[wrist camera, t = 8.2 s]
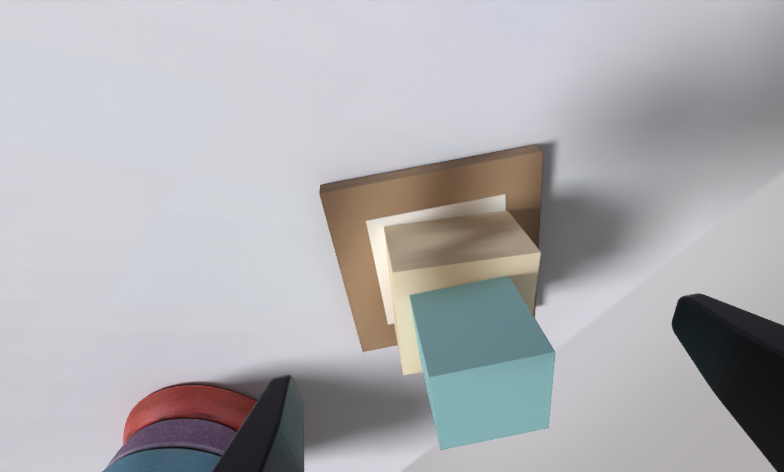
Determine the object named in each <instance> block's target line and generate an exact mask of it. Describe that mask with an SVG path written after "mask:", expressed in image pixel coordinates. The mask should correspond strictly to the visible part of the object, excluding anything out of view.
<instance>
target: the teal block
mask: <svg viewBox="0 0 784 472" xmlns="http://www.w3.org/2000/svg"><path fill="white" fill-rule="evenodd" d="M409 297H410V303H411V309H412V314H413V320H414V326H415V332H416V338H417V344H418V350H419V356H420V361H421V366H422V371H423V375H424V380H425V384H426V388H427V393H428V397H429V401H430V406H431V410H432V415H433V419H434V423H435V428H436V432H437V437H438V441H439V445H440V450H444V449H448V448H453V447H458V446H463V445H468V444H473V443H478V442H483V441H487V440H492V439H497V438H502V437H507V436H512V435H517V434H522V433H527V432H531V431H536V430H541V429H546V428H549V417H550V407H551V395H552V384H553V373H554V362H555V351H554V349H553V347H552V346H551V344H550V342H549V341H548V339H547V338H546V336H545V334H544V333H543V331H542V329H541V328H540V326H539V325H538V323H537V321H536V320H535V318H534V316H533V315H532V313H531V312H530V310H529V308H528V307H527V305H526V303H525V302H524V300H523V299H522V297H521V295H520V294H519V292H518V290H517V289H516V287H515V286H514V284H513V282H512V281H511V279H510V277H509V276H503V277H498V278H493V279H488V280H483V281H478V282H473V283H468V284H463V285H458V286H453V287H448V288H442V289H437V290H432V291H427V292H422V293H417V294H412V295H409Z"/></svg>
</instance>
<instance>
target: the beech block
mask: <svg viewBox="0 0 784 472" xmlns="http://www.w3.org/2000/svg"><path fill="white" fill-rule="evenodd" d="M384 236H385V245H386V254H387V264H388V273H389V282H390V291H391V301H392V310H393V319H394V326H395V331H396V337H397V343H398V349H399V354H400V360H401V366H402V372H403V375H408V374H415V373H421V372H423V371H422V366H421V361H420V356H419V350H418V344H417V338H416V332H415V326H414V320H413V314H412V309H411V303H410V297H409V295H412V294H417V293H422V292H427V291H432V290H437V289H442V288H448V287H453V286H458V285H463V284H468V283H473V282H478V281H483V280H488V279H493V278H498V277H503V276H509V277H510V279H511V281H512V282H513V284H514V286H515V287H516V289H517V290H518V292H519V294H520V295H521V297H522V299H523V300H524V302H525V303H526V305H527V307H528V308H529V310H530V312H531V313H532V315H533V308H534V301H535V293H536V286H537V278H538V271H539V263H540V256H541V252H540V250H539V249H538V248H537V247H536V245H535V244H534V243H533V242H532V240H531V239H530V238H529V237H528V235H527V234H526V233H525V232H524V230H523V229H522V228H521V227H520V225H519V224H518V223H517V222H516V220H515V219H514V218H513V217H512V215H511V214H510V213H509V212H508V210H507V211H500V212H492V213H484V214H477V215H469V216H461V217H454V218H446V219H438V220H430V221H423V222H415V223H407V224H400V225H392V226H384Z"/></svg>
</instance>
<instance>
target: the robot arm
mask: <svg viewBox="0 0 784 472" xmlns="http://www.w3.org/2000/svg"><path fill="white" fill-rule="evenodd" d="M672 328H673V331H674V333H675V335H676V336H677V338H678V339H679V341H680V342H681V344H682V345H683V347H684V348H685V350H686V351H687V353H688V354H689V356H690V357H691V359H692V360H693V362H694V363H695V365H696V366H697V368H698V369H699V371H700V373H701V374H702V376H703V377H704V379H705V380H706V382H707V383H708V385H709V386H710V387H711V389H712V390H713V392H714V393H715V394H716V396H717V397H718V398H719V400H720V401H721V402H722V404H723V405H724V406H725V407H726V409H727V410H728V411H729V412H730V413H731V415H732V416H733V417H734V418H735V420H736V421H737V422H738V423H739V425H740V426H741V427H742V428H743V430H744V431H745V432H746V433H747V435H748V436H749V437H750V438H751V440H752V441H753V442H754V443H755V445H756V446H757V447H758V448H759V450H760V451H761V452H762V453H763V455H764V456H765V457H766V458H767V459H768V461H769V462H770V463H771V465H772V466H773V467H774V468H775V470H776V471H777V472H784V326H783V325H781V324H778V323H775V322H773V321H771V320H768V319H765V318H763V317H760V316H758V315H755V314H752V313H750V312H747V311H745V310H742V309H739V308H737V307H735V306H732V305H729V304H727V303H724V302H722V301H719V300H716V299H714V298H711V297H709V296H706V295H703V294H692V295H687V296H683V297H681V298H680V299H679V300H678V302H677V306H676V309H675V312H674V316H673V319H672ZM211 472H304V428H303V402H302V397H301V395H300V392H299V390H298V388H297V385H296V383H295V381H294V378H293V377H292V376H291V375H284V376H279V377H275V378H273V379H272V380H271V381H270V383H269V384H268V386H267V387H266V389H265V390H264V392H263V393H262V395H261V396H260V398H259V399H258V401H257V402H256V404H255V406H254V407H253V409H252V410H251V412H250V413H249V415H248V416H247V418H246V419H245V421H244V422H243V424H242V425H241V427H240V428H239V430H238V432H237V433H236V435H235V436H234V438H233V439H232V441H231V442H230V444H229V445H228V447H227V448H226V450H225V451H224V453H223V455H222V456H221V458H220V459H219V461H218V462H217V464H216V465H215V467H214V468H213V470H212V471H211Z"/></svg>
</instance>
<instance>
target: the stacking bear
mask: <svg viewBox="0 0 784 472" xmlns="http://www.w3.org/2000/svg"><path fill="white" fill-rule="evenodd" d="M256 402H257V401H255V400H253V399H251V398H249V397H246V396H244V395H241V394H238V393H235V392H232V391H229V390H225V389H221V388H217V387H211V386H202V385H185V386H177V387H171V388H167V389H163V390H160V391H158V392H155V393H153V394H151V395H149V396H147V397H146V398H144V399H143V400H141V401H140V402H139V403H138V404H137V405H136V406H135V407H134V408H133V409H132V411H131V412H130V414H129V416H128V418H127V421H126V424H125V429H124V436H123V446H122V448H121V449H120V450H119V451H118V452H117V454H116V455H115V456H114V458H113V459H112V460H111V462H110V463H109V465H108V466H107V468H106V469H105V470H104V471H103V472H211V471H212V470H213V468H214V467H215V465H216V464H217V462H218V461H219V459H220V458H221V456H222V455H223V453H224V451H225V450H226V448H227V447H228V445H229V444H230V442H231V441H232V439H233V438H234V436H235V435H236V433H237V432H238V430H239V428H240V427H241V425H242V424H243V422H244V421H245V419H246V418H247V416H248V415H249V413H250V412H251V410H252V409H253V407H254V406H255V404H256Z"/></svg>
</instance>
